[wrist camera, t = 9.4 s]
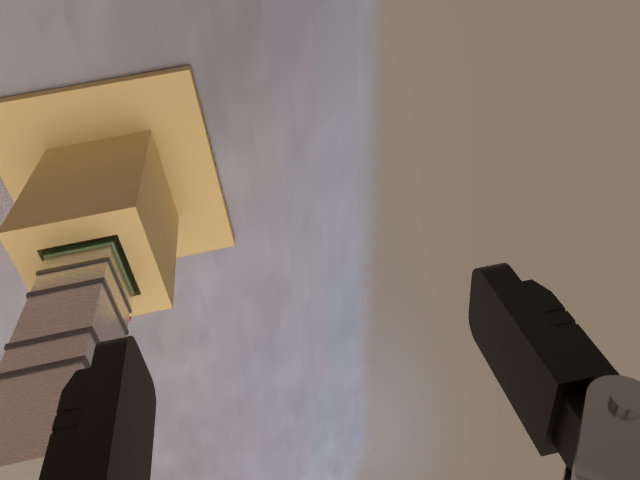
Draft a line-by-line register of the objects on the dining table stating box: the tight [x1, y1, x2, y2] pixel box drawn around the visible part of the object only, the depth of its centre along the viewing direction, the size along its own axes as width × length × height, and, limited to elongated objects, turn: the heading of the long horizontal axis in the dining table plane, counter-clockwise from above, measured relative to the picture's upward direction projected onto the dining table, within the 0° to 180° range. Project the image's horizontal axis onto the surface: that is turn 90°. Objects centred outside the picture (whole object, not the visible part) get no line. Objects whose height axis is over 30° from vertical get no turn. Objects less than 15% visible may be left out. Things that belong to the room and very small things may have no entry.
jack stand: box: [0, 65, 235, 321], centre depth 40 cm, size 16×16×13 cm
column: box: [0, 235, 136, 480], centre depth 30 cm, size 4×4×20 cm
